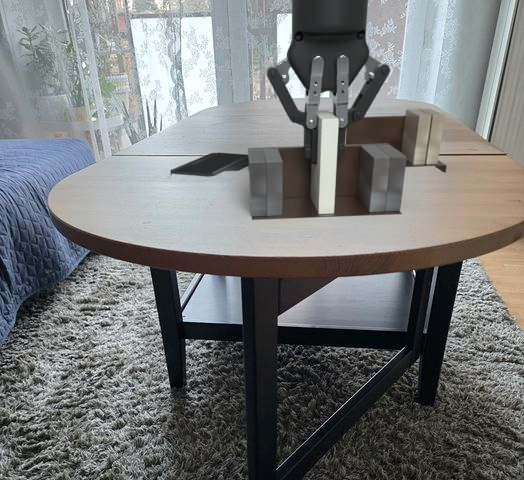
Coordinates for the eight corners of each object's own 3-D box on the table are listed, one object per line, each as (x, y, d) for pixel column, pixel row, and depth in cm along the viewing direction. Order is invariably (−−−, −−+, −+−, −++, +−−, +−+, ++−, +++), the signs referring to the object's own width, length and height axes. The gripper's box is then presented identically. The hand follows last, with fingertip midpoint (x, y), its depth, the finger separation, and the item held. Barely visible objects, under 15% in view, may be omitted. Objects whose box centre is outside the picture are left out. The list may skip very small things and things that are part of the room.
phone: (253, 154, 86) (212, 174, 74) (253, 161, 87) (213, 182, 75) (212, 152, 89) (166, 170, 77) (213, 159, 89) (167, 178, 78)
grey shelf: (382, 200, 66) (388, 143, 62) (401, 222, 58) (409, 158, 54) (249, 205, 65) (247, 148, 61) (251, 228, 57) (249, 164, 54)
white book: (324, 197, 64) (328, 110, 59) (334, 213, 58) (339, 118, 53) (310, 197, 64) (312, 110, 59) (318, 214, 58) (321, 119, 53)
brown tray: (426, 159, 85) (434, 107, 81) (445, 172, 78) (455, 115, 74) (320, 163, 85) (322, 111, 81) (329, 176, 77) (332, 119, 73)
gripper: (261, -26, 46) (265, 172, 55) (412, -30, 46) (391, 167, 55) (258, -19, 52) (262, 157, 61) (390, -22, 53) (375, 153, 62)
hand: (323, 161), depth 58 cm, fingers closed on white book, 2 cm apart
